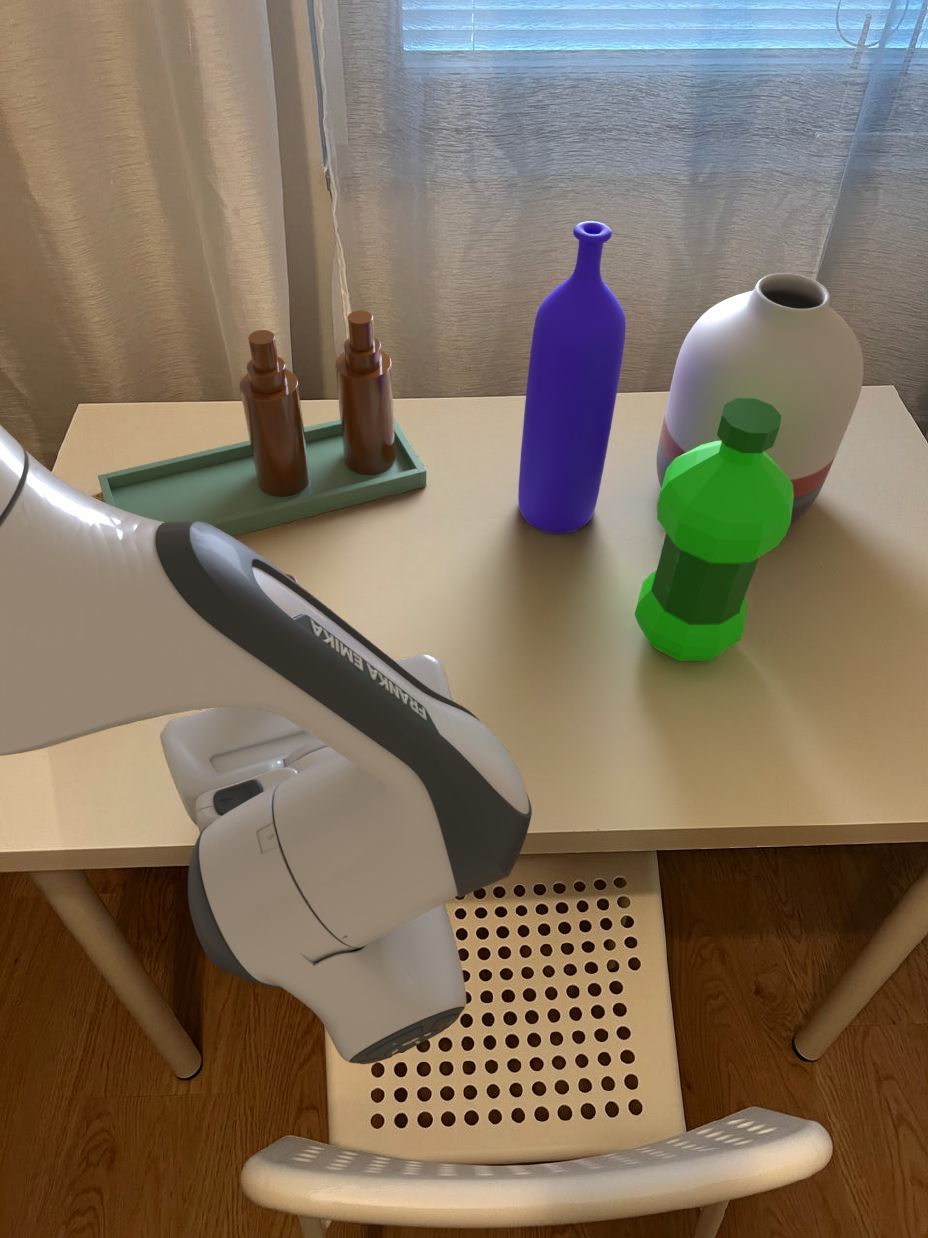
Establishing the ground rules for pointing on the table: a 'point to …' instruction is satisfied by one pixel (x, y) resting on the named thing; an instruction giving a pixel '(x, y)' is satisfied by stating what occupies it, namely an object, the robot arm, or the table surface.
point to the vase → (769, 378)
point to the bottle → (571, 393)
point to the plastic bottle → (715, 534)
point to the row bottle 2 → (365, 399)
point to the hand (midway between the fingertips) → (289, 650)
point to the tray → (256, 484)
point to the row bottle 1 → (274, 419)
